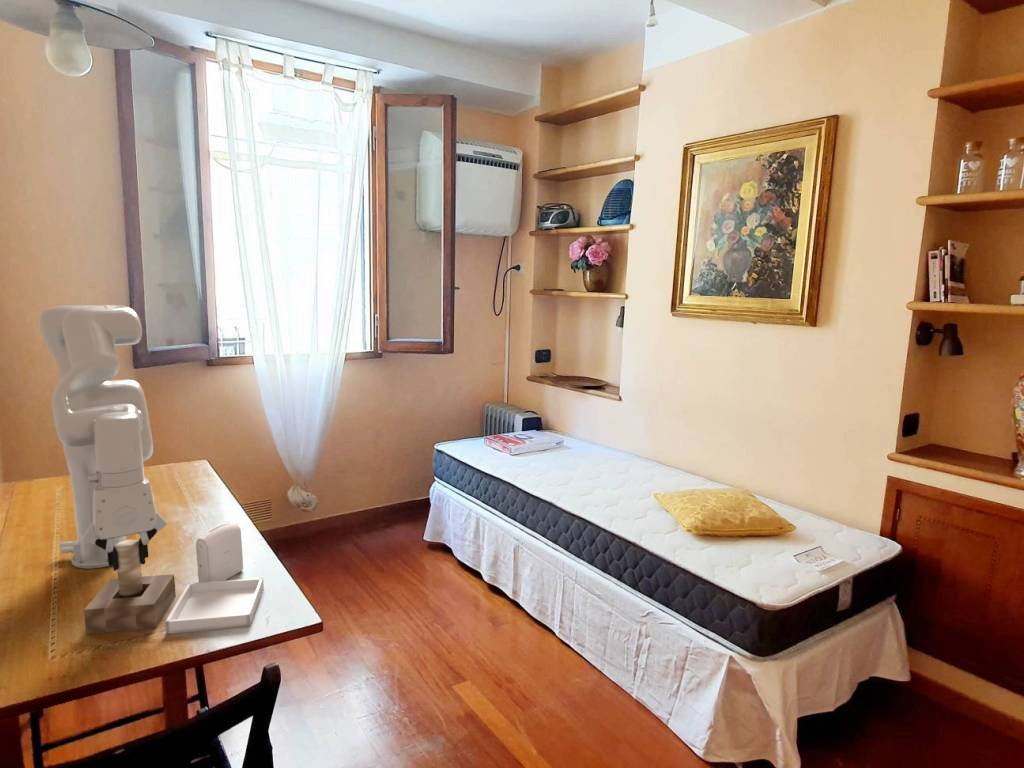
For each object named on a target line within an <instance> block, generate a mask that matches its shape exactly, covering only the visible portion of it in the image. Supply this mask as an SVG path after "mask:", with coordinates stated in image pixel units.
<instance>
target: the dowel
mask: <svg viewBox="0 0 1024 768" xmlns="http://www.w3.org/2000/svg"><path fill="white" fill-rule="evenodd" d="M115 549H116V551H117V561H118V569H117V570H116V571H117V578H118V583H119V594H120V595H122V596H131V595H135V594H137V593H139V592H141V591H142V590H143V584H142V577H143V576H142V575H143V572H142V564H141V562H140V549H139V540H138V539H126V541H122V542H120V543H118V544H116V545H115Z"/></svg>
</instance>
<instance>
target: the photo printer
mask: <svg viewBox="0 0 1024 768" xmlns="http://www.w3.org/2000/svg"><path fill="white" fill-rule="evenodd" d="M195 552H196V565H197V566H196V567H197V575H198V577H197V578H198V583H199V582H212V581H226V580H228V579H230V578H232V577H234V576H235V575H237V574H239V573H240V572H241V571H242V570H244V562H243V561H244V559H243V557H244V556H243V543H242V532H241V528H240V526H239V524H238V523H234V522H226V523H225V522H224V523H221V524H218V525H216V526H213V527H211V528H210V529H208V530H207V531H205V532H204V533H203V534H201V536H199V537H198V538H197V540H196V542H195Z"/></svg>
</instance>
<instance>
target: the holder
mask: <svg viewBox="0 0 1024 768" xmlns="http://www.w3.org/2000/svg"><path fill="white" fill-rule="evenodd" d="M175 581H176V580H175V574H164V575H163V574H160V575H147V576H142V584H143V590H142V591H141V592H139V593H137V594H135V595H131V596H122V595H120V594H119V583H118V577H117V578H116V577H115V578H110V579H109V580H108V581H107V582H106V583H105V585H103V587H102V588H101V589H100V590H99V592H98V593H97V594H96V595H95V596H94V597H93V599H91V601H90V602H89V603H88V604H87V605H86V606H85V608H84V609H83V615H84V623H85V625H84V626H85V632H86V633H85V634H86V635H91V634H100V633H101V634H102V633H110V632H111V633H112V632H124V631H125V632H126V631H136V630H149V629H156V628H158V626H159V624H160V623H161V621H162V619H163V617H164V616H165V614H166V612H167V611H168V610H169V608H170V606H171V605H172V603H173V601H174V600H175V598H176V597H177V596H176V583H175Z"/></svg>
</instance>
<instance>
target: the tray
mask: <svg viewBox="0 0 1024 768" xmlns="http://www.w3.org/2000/svg"><path fill="white" fill-rule="evenodd" d="M264 584H265V583H264V577H254V578H241V579H239V578H238V579H231V580H230V579H229V580H228V579H227V580H225V581H212V582H199V581H198V582H189V583H187V585H186V587H185V588H184V590H183V592H182V593H181V594H180V596H179V598H178V600H177V602H176V603H175V605H174V606H173V608H172V609H171V611H170V613H169V615H168V617H167V618H166V619H165V621H164V626H165V635H168V634H170V635H171V634H180V633H193V632H203V631H213V630H215V631H216V630H224V629H225V630H226V629H235V628H236V629H237V628H248V627H251V625H252V622H253V619H254V616H255V614H256V611H257V609H258V605H259V602H260V600H261V597H262V595H261V594H263V592H262V591H264V589H263V588H265V587H264V586H265V585H264Z"/></svg>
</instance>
